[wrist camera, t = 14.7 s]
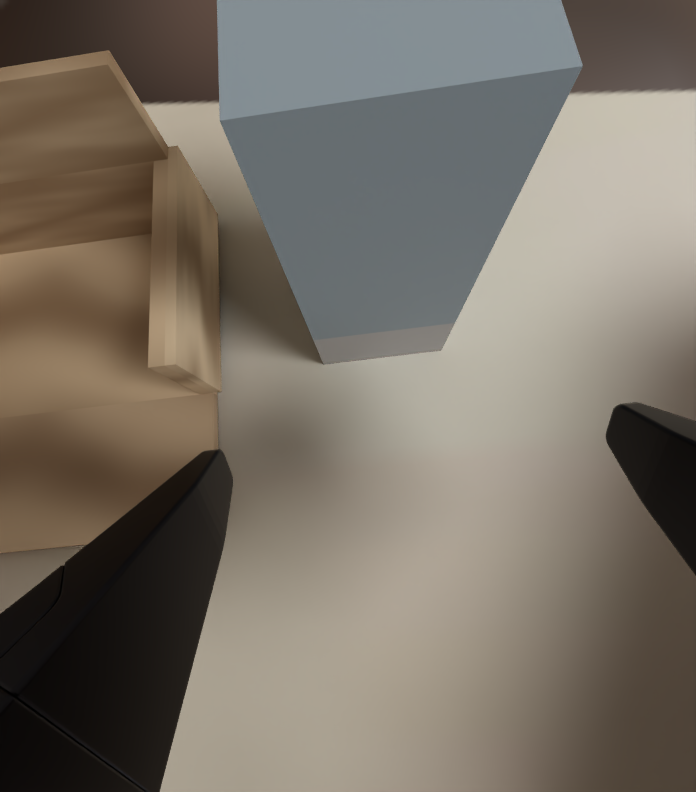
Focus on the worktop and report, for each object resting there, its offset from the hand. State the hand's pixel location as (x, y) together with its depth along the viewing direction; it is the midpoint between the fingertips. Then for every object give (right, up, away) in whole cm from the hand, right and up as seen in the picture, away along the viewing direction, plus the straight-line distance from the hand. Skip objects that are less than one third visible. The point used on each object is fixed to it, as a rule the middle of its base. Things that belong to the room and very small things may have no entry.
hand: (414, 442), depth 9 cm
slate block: (0, +6, +9) cm, 11 cm away
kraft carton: (-15, +2, +9) cm, 18 cm away
